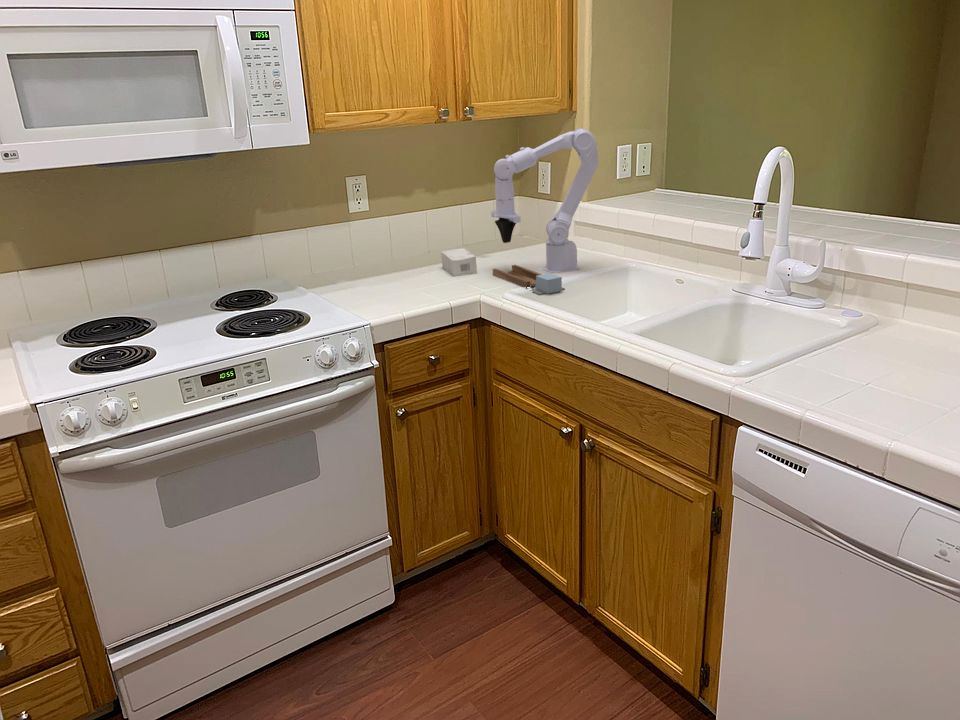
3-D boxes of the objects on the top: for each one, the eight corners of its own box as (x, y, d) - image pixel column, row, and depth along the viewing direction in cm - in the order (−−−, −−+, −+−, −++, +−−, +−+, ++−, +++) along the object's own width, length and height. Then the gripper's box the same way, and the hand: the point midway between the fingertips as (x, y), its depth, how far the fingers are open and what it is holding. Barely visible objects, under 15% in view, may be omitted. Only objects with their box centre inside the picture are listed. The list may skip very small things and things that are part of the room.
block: (549, 286, 215) (549, 273, 214) (561, 290, 210) (561, 277, 209) (536, 289, 213) (536, 275, 212) (547, 293, 208) (547, 280, 207)
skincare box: (452, 260, 230) (439, 250, 243) (454, 278, 232) (441, 267, 245) (477, 256, 232) (463, 246, 245) (478, 274, 235) (464, 263, 248)
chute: (516, 271, 235) (515, 264, 234) (564, 289, 213) (564, 281, 212) (492, 276, 231) (491, 269, 230) (539, 295, 209) (538, 287, 208)
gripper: (482, 198, 230) (484, 240, 235) (505, 203, 218) (507, 247, 223) (501, 195, 233) (503, 237, 238) (525, 200, 221) (527, 244, 226)
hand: (506, 242), depth 231 cm, fingers closed
